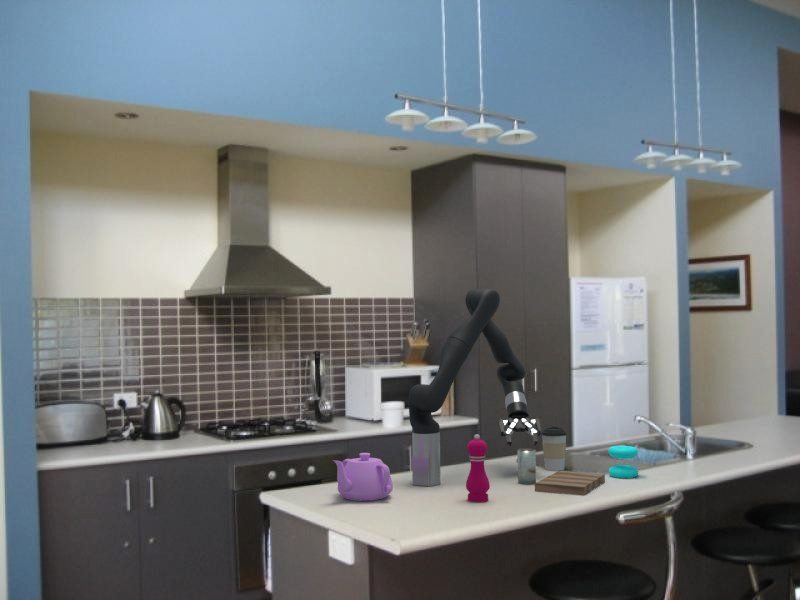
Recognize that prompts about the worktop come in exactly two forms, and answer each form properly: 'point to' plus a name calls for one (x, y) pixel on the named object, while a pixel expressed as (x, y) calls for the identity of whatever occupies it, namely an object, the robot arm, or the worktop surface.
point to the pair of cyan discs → (623, 453)
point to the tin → (526, 466)
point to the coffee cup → (554, 448)
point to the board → (570, 483)
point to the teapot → (363, 478)
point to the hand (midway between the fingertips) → (522, 444)
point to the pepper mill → (477, 471)
